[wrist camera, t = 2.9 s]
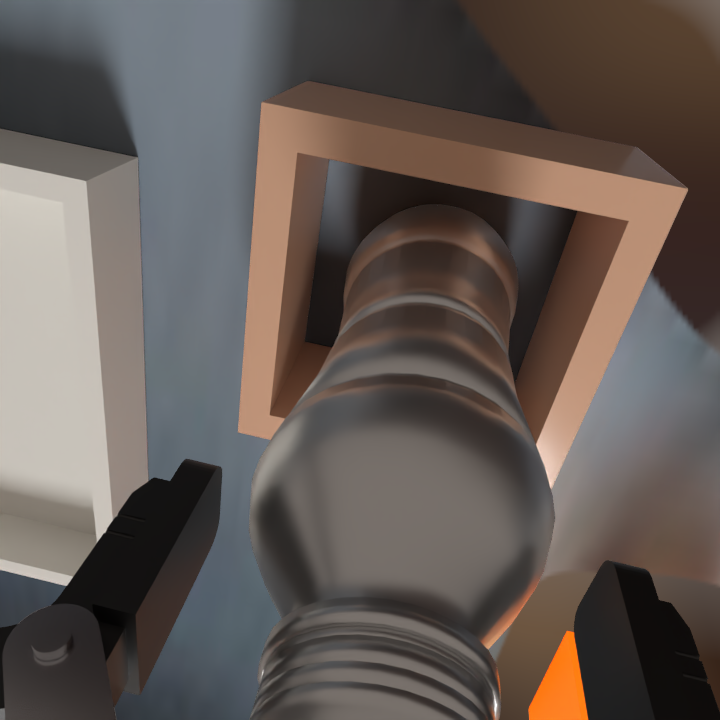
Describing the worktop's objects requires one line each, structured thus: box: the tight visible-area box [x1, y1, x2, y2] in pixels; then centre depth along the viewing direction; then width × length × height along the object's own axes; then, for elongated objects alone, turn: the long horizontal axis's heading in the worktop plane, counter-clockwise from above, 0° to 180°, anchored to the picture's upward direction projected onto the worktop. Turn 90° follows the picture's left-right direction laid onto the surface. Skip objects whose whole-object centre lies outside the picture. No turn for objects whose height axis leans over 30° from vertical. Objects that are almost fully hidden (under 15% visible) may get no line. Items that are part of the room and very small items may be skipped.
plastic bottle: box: [249, 204, 555, 720], centre depth 17 cm, size 6×7×20 cm
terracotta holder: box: [238, 81, 688, 489], centre depth 23 cm, size 12×12×6 cm
